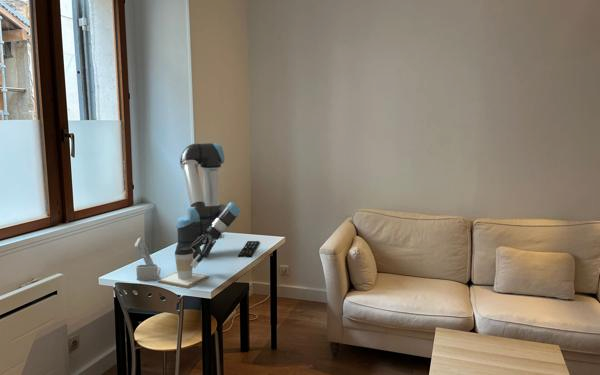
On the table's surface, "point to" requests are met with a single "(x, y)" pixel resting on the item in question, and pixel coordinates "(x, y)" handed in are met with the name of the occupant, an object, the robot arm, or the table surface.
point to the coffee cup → (184, 262)
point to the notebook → (182, 280)
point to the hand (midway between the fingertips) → (188, 262)
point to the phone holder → (150, 268)
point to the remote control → (249, 249)
